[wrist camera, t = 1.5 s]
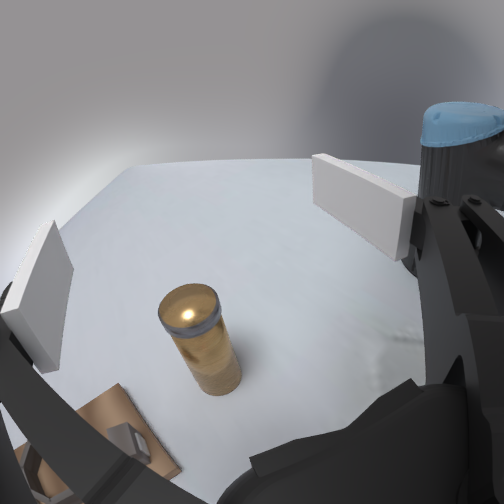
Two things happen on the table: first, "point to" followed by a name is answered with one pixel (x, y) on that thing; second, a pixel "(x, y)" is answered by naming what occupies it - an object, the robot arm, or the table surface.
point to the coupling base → (111, 427)
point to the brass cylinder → (201, 337)
